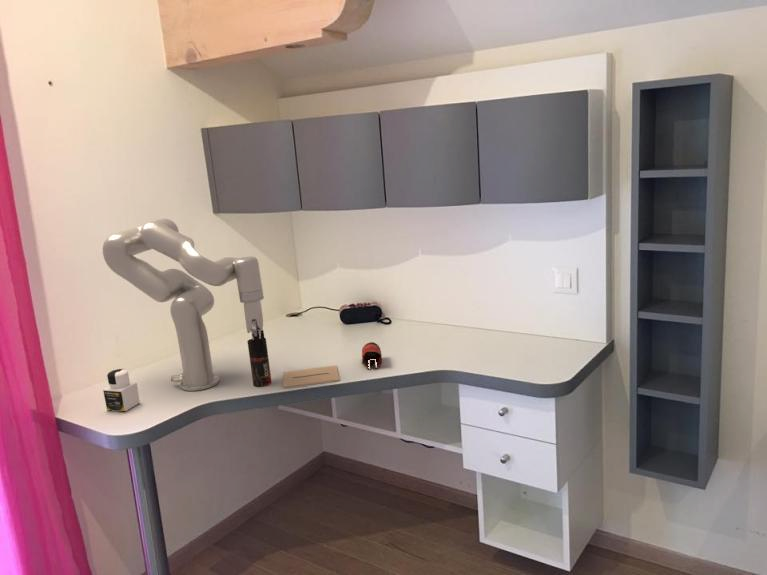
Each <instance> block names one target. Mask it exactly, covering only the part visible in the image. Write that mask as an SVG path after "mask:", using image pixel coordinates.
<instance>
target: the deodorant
mask: <svg viewBox="0 0 767 575" xmlns="http://www.w3.org/2000/svg"><path fill="white" fill-rule="evenodd" d="M261 338H262V341H263V347H264V350H263V351H258V352H254V350H253V344H252V338H250V339H248V340H247V347H248V356H249V363H250V370H251V378H252V386H253V387H254V388H255V387H256V388H264V387H267V386H269V385H270V386H271V383H272V376H271V369H270V361H269V360H270V359H269V353H268V345H267V339H266V338H265V337H264V338H263V337H261Z"/></svg>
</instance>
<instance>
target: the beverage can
mask: <svg viewBox="0 0 767 575" xmlns="http://www.w3.org/2000/svg"><path fill="white" fill-rule="evenodd" d="M361 353H362V354H361V364H362V365H363V367H365V368H366V369H368V370H370V369H369V368H368V367H369V366H368V364H369V363H368V360H370V359H376V362H377V369H379V368H380V367H381V366H382V365H383V357H382V350H381V347H380V346H379V345H378V343H376V342H372V341H370V342H367V343H366V344H364V346H362V350H361ZM370 361H371V360H370Z"/></svg>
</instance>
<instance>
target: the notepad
mask: <svg viewBox="0 0 767 575" xmlns="http://www.w3.org/2000/svg"><path fill="white" fill-rule="evenodd" d="M335 382H340V377H339V371H338V366H337V365H330V366H329V365H328V366H321V367H313V368H306V369H304V368H303V369H298V370H290V371H283V383H282V384H283V389H289V388H297V387H304V386H312V385H319V384H327V383H335Z"/></svg>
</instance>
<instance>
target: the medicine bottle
mask: <svg viewBox="0 0 767 575" xmlns="http://www.w3.org/2000/svg"><path fill="white" fill-rule="evenodd" d="M106 377H107V382H108V386H107V387H105V388H103V396H104V401H105V406H106V407H105V408H106V411H108V410H112V411H111V412H118V411H126V410H127V411H129V410H131V409H132V408H131V407H133V406H134V407H136V406H137V404H138V403H139V404H140V403H141V402H140V401H141V400H140V394H139V389H138V384H137V382H134V381H133V382H132V381H130V376H129V371H128V369H125V368H118V369H114V370H110V371H109V372H108V373H107V375H106ZM139 404H138V405H139ZM135 405H136V406H135ZM134 407H133V408H134ZM130 408H131V409H130ZM128 409H129V410H128ZM127 411H126V412H127Z"/></svg>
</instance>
